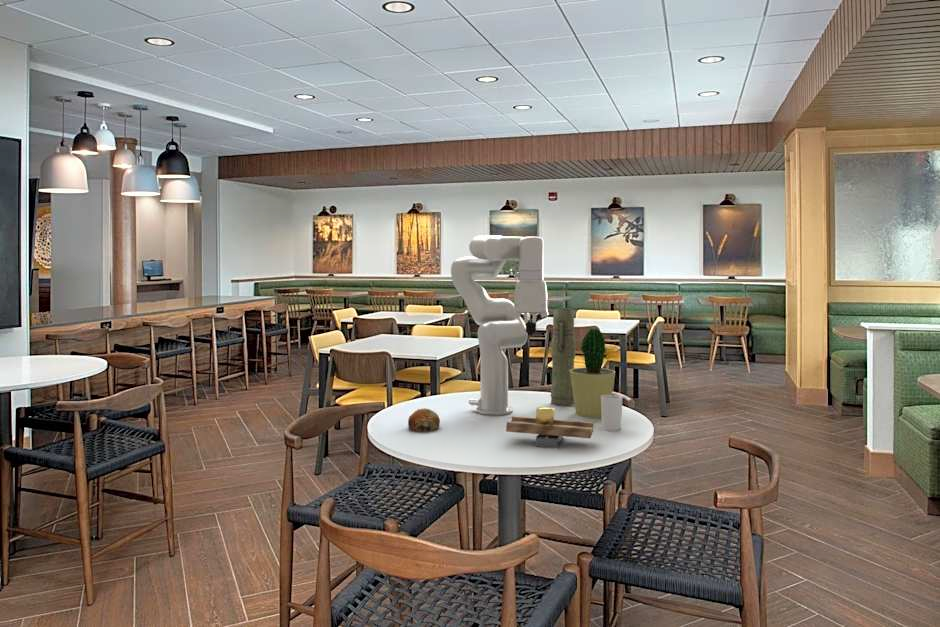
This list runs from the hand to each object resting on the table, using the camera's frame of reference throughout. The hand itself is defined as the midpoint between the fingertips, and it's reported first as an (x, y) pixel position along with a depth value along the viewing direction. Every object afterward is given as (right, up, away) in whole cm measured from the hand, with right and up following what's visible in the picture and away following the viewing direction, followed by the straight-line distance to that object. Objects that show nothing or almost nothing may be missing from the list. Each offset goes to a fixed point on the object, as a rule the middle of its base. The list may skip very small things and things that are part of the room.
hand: (530, 335), depth 223 cm
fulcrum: (+4, -31, -18) cm, 35 cm away
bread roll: (-34, -30, 0) cm, 45 cm away
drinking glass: (+25, -29, 0) cm, 39 cm away
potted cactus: (+23, -28, +21) cm, 42 cm away
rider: (+2, -26, -18) cm, 31 cm away
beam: (+4, -27, -18) cm, 32 cm away
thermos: (+15, -27, +38) cm, 49 cm away
